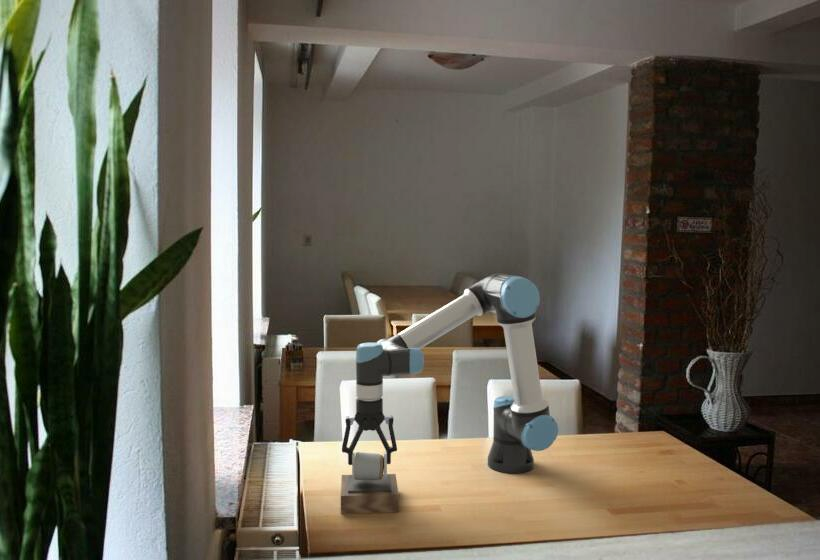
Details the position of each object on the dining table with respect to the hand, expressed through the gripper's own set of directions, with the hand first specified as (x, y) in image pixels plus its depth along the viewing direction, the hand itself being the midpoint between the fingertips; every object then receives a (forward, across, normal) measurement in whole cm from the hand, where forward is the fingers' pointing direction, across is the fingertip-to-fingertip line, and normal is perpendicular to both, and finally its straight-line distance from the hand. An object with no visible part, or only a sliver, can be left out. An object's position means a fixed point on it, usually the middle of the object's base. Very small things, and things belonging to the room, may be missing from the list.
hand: (369, 475), depth 209 cm
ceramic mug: (+1, 0, -1) cm, 1 cm away
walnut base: (+8, 0, 0) cm, 8 cm away
